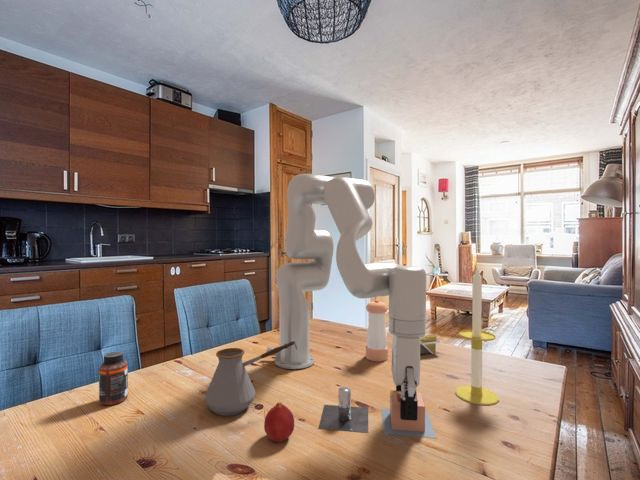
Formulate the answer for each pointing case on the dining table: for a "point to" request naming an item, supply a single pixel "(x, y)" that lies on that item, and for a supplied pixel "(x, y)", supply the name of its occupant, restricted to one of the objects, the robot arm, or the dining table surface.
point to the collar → (406, 424)
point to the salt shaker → (376, 332)
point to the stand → (344, 415)
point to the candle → (476, 351)
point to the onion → (279, 423)
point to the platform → (428, 344)
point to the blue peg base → (388, 430)
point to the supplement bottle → (113, 379)
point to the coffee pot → (233, 381)
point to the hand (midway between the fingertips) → (405, 406)
